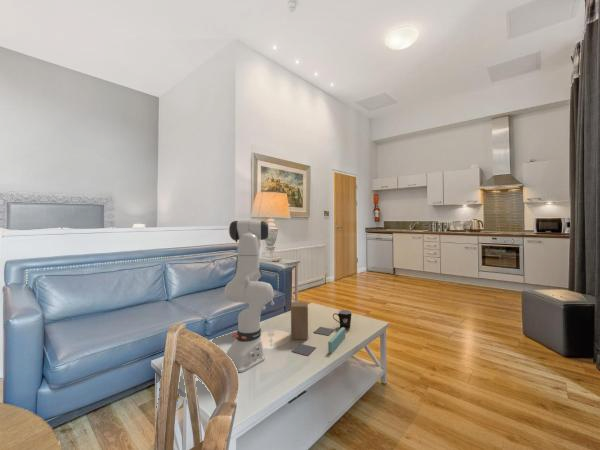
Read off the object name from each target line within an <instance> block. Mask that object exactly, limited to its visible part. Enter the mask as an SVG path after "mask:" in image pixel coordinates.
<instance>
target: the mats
mask: <svg viewBox="0 0 600 450" xmlns="http://www.w3.org/2000/svg"><path fill="white" fill-rule="evenodd" d="M334 331H335V329H334V328H330V327H325V326H323V327H322V326H319V327H318V328H317V329H315V330H314V332H313V333H314V334H317V335H323V336H327V337H328V336H329V337H330V335H331V334H332V333H333V332H334ZM316 349H317V347H316V346H311V345H308V344H302V343H299V344H298V345H297V346H296V347H294V348H293V349H292V350H291V352H290V353H295V354H298V355H303V356H306V357H309V356H310V355H311V354H312V353H313V352H314V351H315V350H316Z"/></svg>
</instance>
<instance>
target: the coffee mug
mask: <svg viewBox="0 0 600 450" xmlns="http://www.w3.org/2000/svg"><path fill="white" fill-rule="evenodd" d="M337 312H338V313H337ZM337 312H336V313H333V315H332V317H333V319H334V321H336V322H338V323H339V326H340V329H341V328H342V327H343V328H345V330H349V329H350V328H351V322H352V321H351V320H352V315H353V314H352V311H351V310H350V309H340V310H338V311H337ZM335 315H337V316H338V320H337V319H336V318H335ZM348 328H349V329H348Z"/></svg>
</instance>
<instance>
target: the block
mask: <svg viewBox="0 0 600 450" xmlns="http://www.w3.org/2000/svg"><path fill="white" fill-rule="evenodd" d="M290 338H291V340H293V341H294V340H295V341H296V340H297V341H299V340H300V341H304V340H305V341H307V340H308V339H309V304H308V302H307V301H293V302H291V305H290Z"/></svg>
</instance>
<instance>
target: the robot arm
mask: <svg viewBox="0 0 600 450" xmlns="http://www.w3.org/2000/svg"><path fill="white" fill-rule="evenodd" d="M270 233H271V228H270V225H269V223H268V221H264V220H261V221H260V220H249V219H246V220H243V219H242V220H233V221H231V223H230V224H229V227H228V234H229V237H230V238H231V239H232V240H233V241H234V242H235V243H238V245H237V254H236V261H235V271H234V275H233V278H232V279H231V280H230V281H229V282H228V283H226V285H225V286H224V291H223V294H224V297H225V299H226V300H227V301H229V302H233V303H245V304H248V307H247V308H244V309H243V310H241V311H240V312H239V314H238V317H237V321H238V322H237V323H238V324H237V326H238V327H237V330H236V333H235V332H234V333H232V335H231V336H232V338H235V339H234V341H233V343H232V344H231V345H230V347H229V348H228V350H227V351H226V355H228V356H229V357H230V358H231V359H232V361H233V362H234V364H235V366H236V368H237V371H238V372H237V373H243V372H246V371H247V370H250V369H251V368H253V367H255V366H257V365H258V364H260V363H262V362H264V361H265V360H266V358H265V356H264V349H263V347H264V346H263V341H262V340H261V339H262V338H261V336H262V329H261V315H262V311H265V310H266V309H267V307H266V305H267V304H268V303H270V305H271V307H272V306H274V305H275V302H274V299H273V298H274V297H275V294H274V287H273V286H272V284H271V283H270V282H265V281H259V280H260V279H261V277H262V275H263V273H262V270H261V268H260V250H261V243H262V241H263V240H264V241H265V240H267V239H268V238H269V236H270Z"/></svg>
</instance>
